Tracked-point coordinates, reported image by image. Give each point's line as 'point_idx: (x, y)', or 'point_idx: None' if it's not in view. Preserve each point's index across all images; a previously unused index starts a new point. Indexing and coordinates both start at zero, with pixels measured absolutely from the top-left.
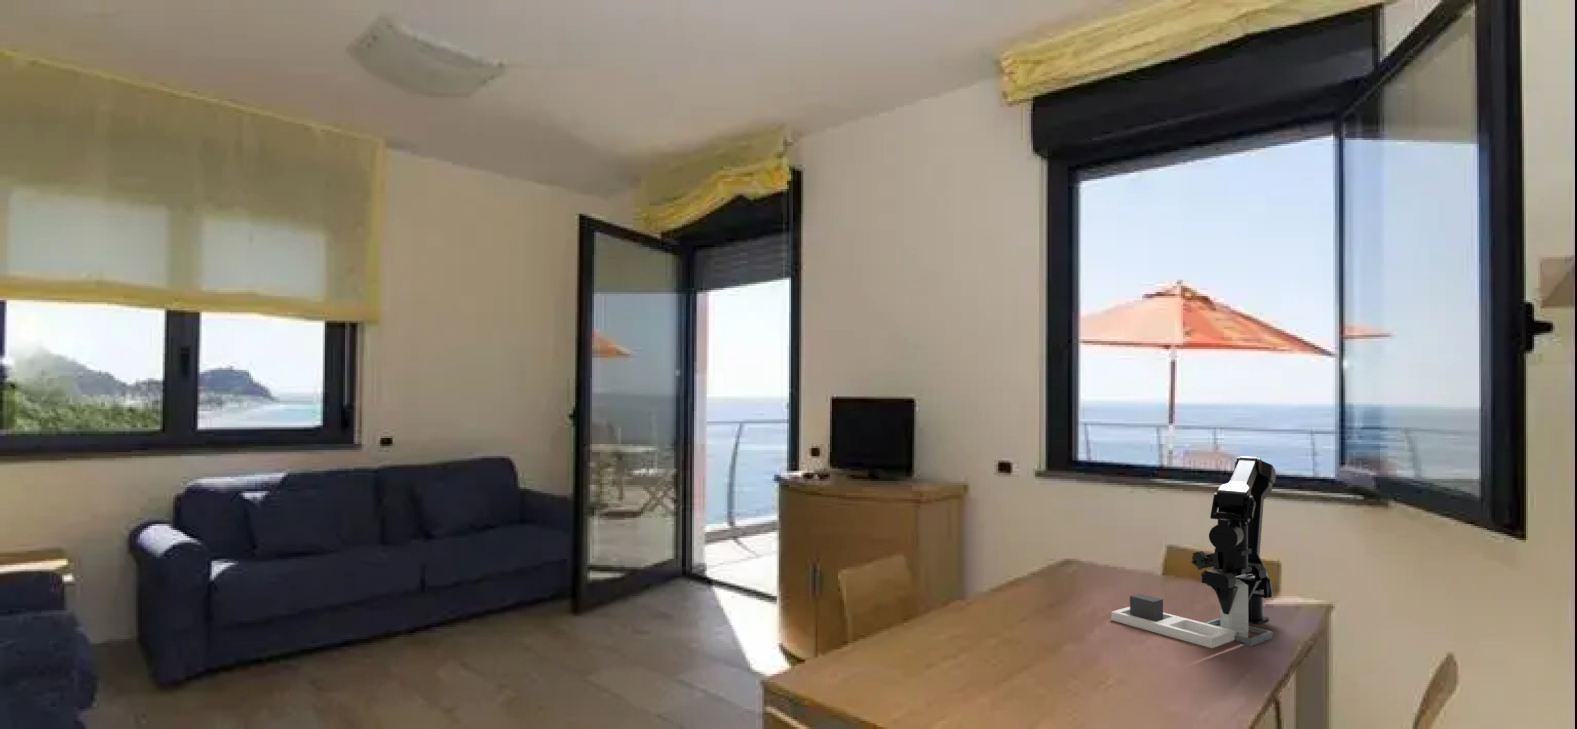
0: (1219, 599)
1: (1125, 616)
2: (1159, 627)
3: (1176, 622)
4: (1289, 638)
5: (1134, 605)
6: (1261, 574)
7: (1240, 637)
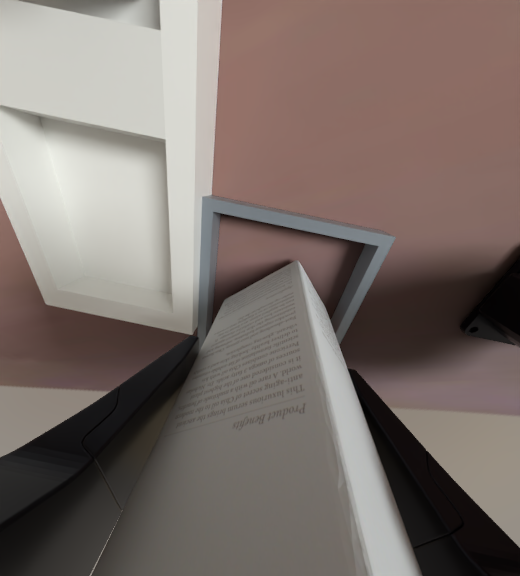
0: (118, 390)
1: None
2: None
3: (74, 118)
4: None
5: None
6: None
7: (198, 336)
